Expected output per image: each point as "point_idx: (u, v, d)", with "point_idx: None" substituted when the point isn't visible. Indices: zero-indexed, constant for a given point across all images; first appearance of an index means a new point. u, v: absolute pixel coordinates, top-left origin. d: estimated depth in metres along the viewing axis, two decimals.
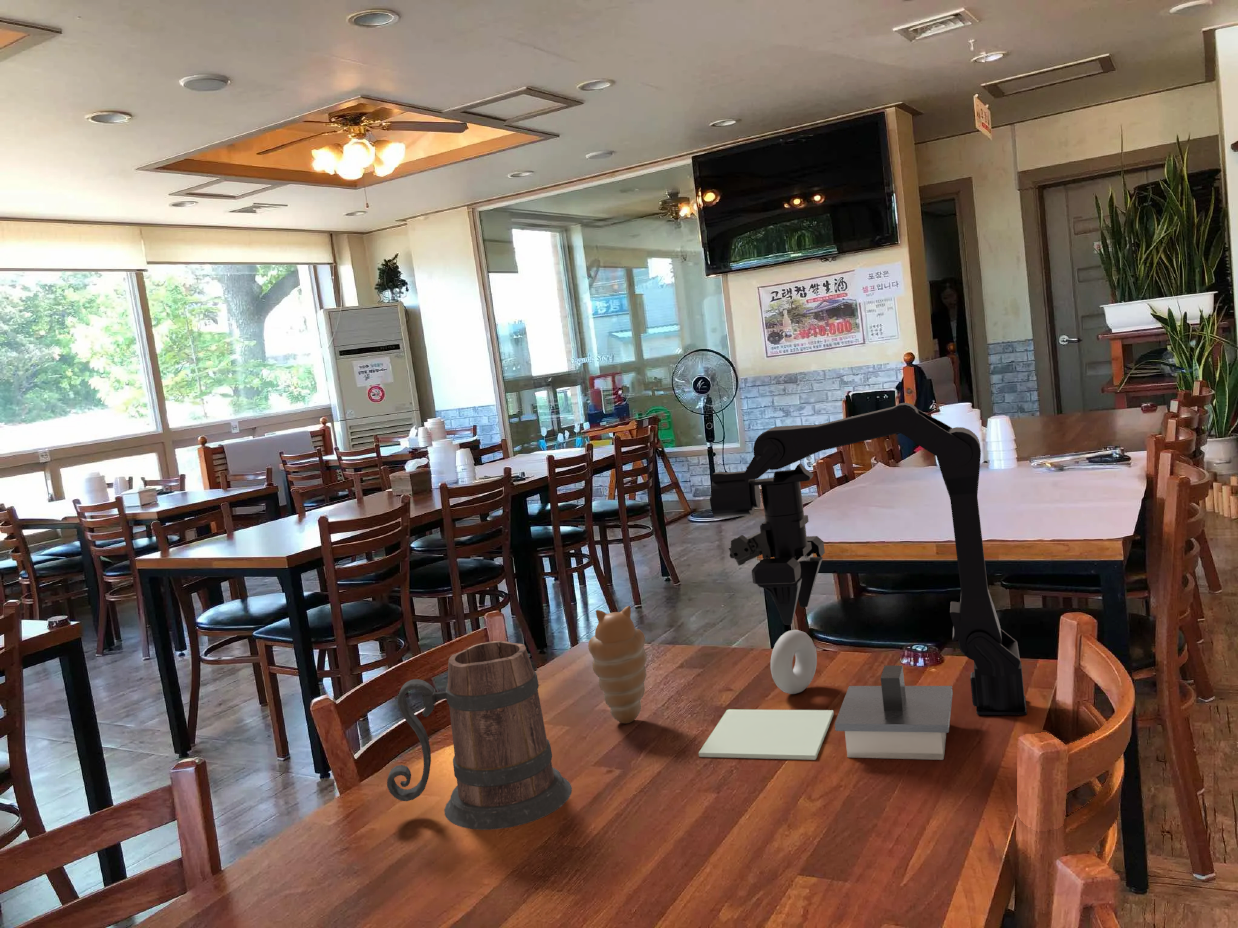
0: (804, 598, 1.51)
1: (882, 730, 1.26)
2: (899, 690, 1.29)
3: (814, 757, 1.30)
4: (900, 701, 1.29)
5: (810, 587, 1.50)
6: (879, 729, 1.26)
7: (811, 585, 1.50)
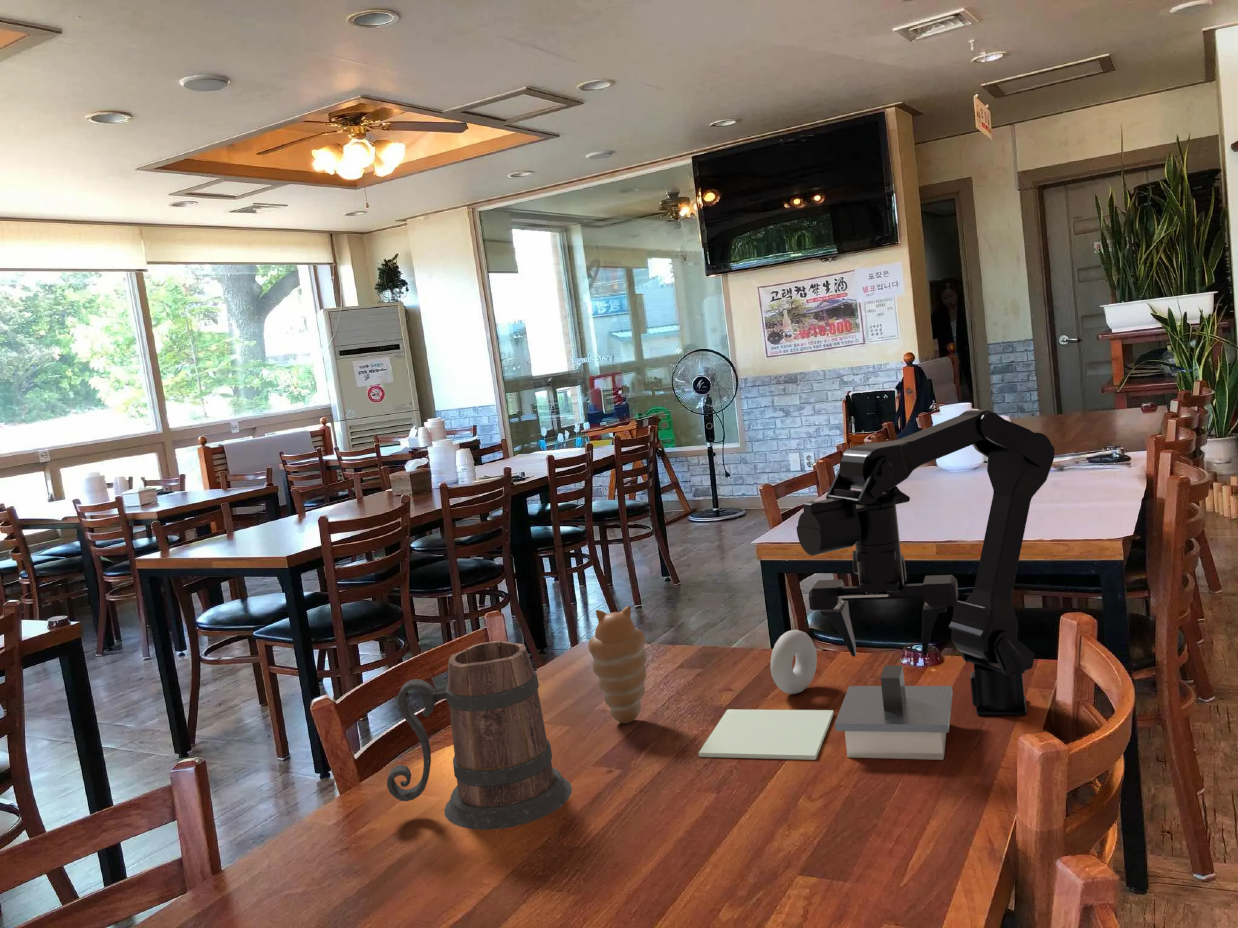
0: None
1: (882, 730, 1.26)
2: (899, 690, 1.29)
3: (814, 757, 1.30)
4: (900, 701, 1.29)
5: (922, 635, 1.29)
6: (879, 729, 1.26)
7: (922, 633, 1.28)
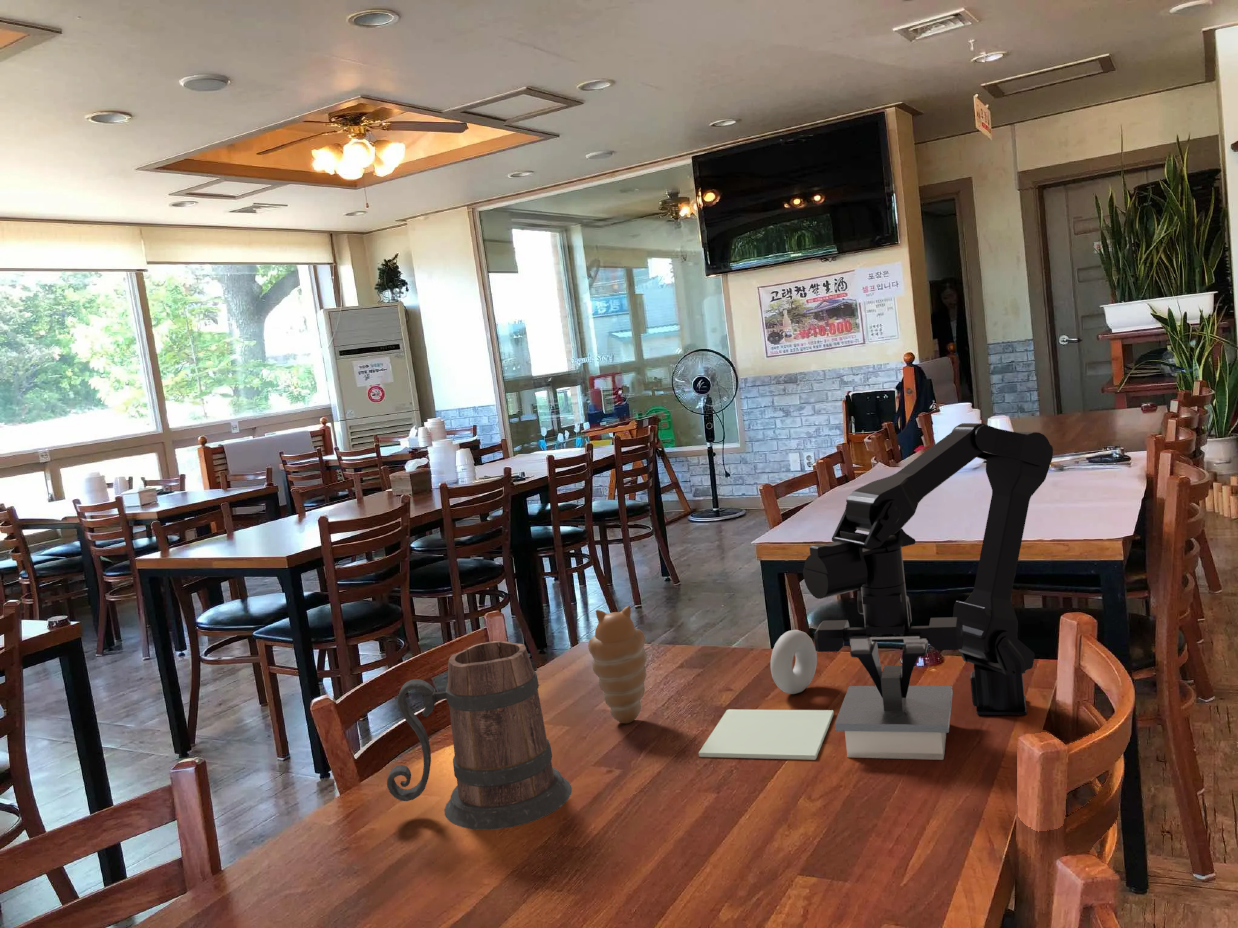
0: None
1: (882, 730, 1.26)
2: (899, 690, 1.29)
3: (814, 757, 1.30)
4: (900, 701, 1.29)
5: None
6: (879, 729, 1.26)
7: (902, 676, 1.30)
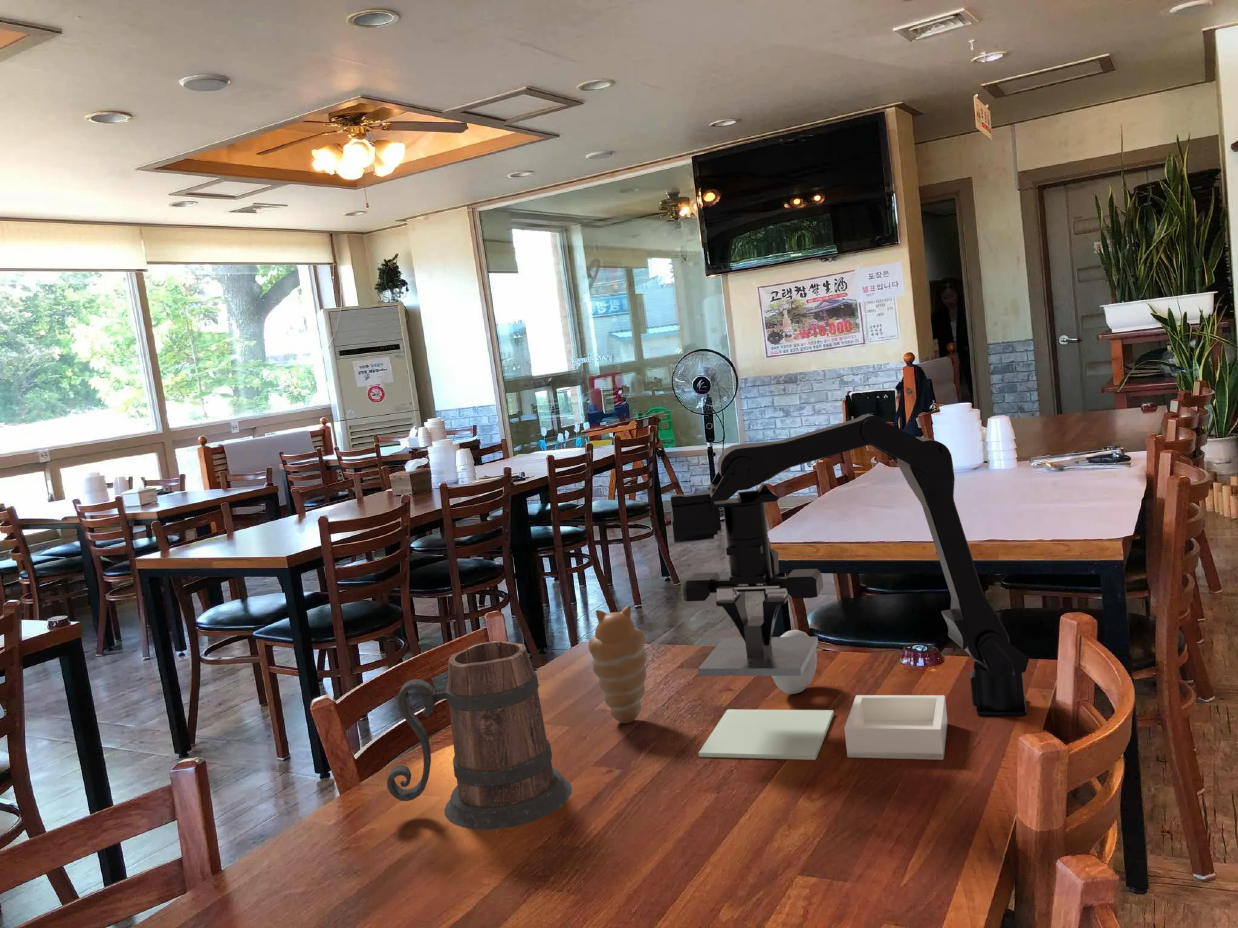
0: None
1: (741, 674, 1.33)
2: (760, 638, 1.36)
3: (814, 757, 1.30)
4: (761, 648, 1.36)
5: (764, 626, 1.37)
6: (738, 673, 1.33)
7: (764, 624, 1.37)
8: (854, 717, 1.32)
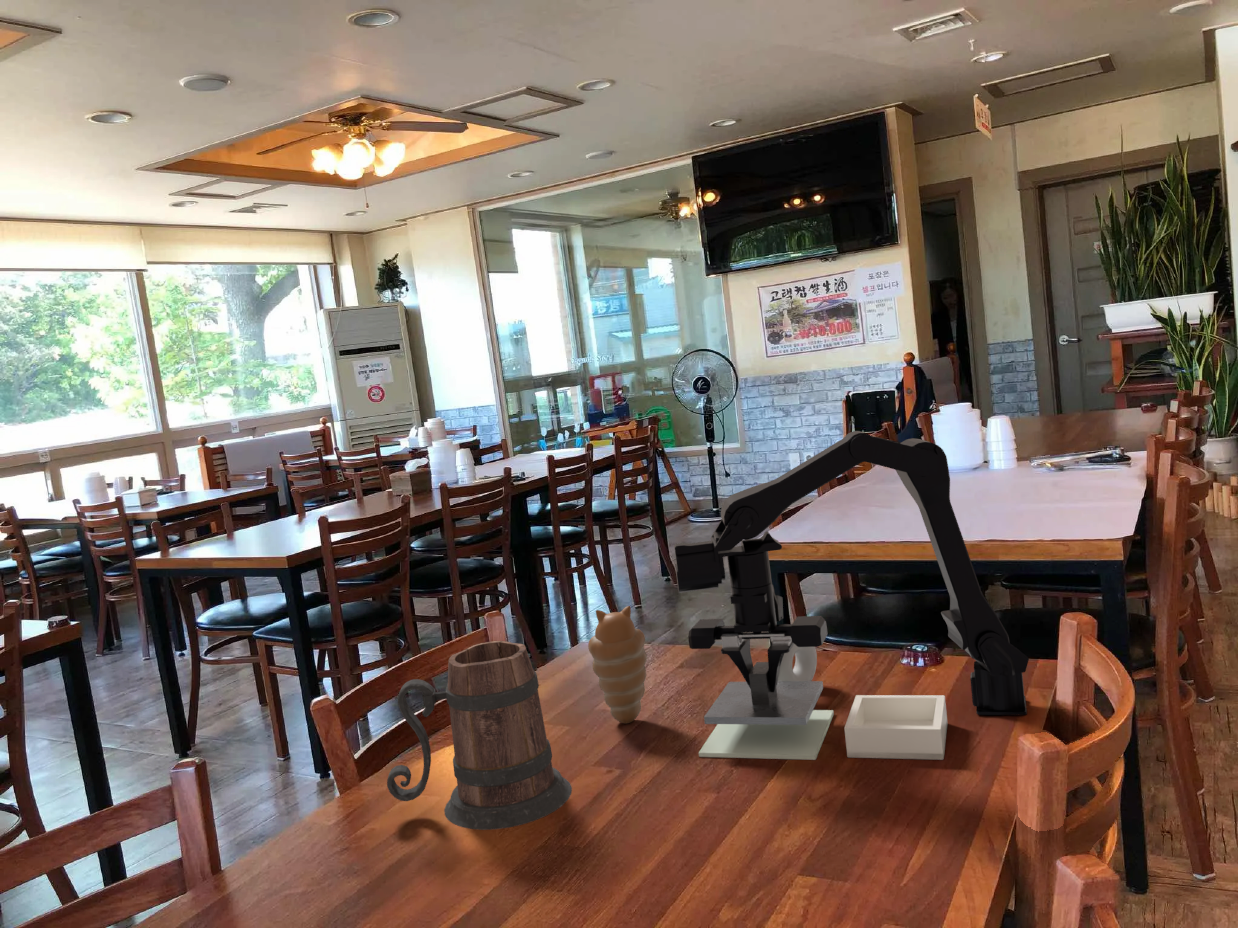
0: None
1: (747, 723, 1.34)
2: (766, 685, 1.37)
3: (814, 757, 1.30)
4: (767, 695, 1.37)
5: (769, 673, 1.38)
6: (744, 722, 1.34)
7: (769, 672, 1.37)
8: (854, 717, 1.32)
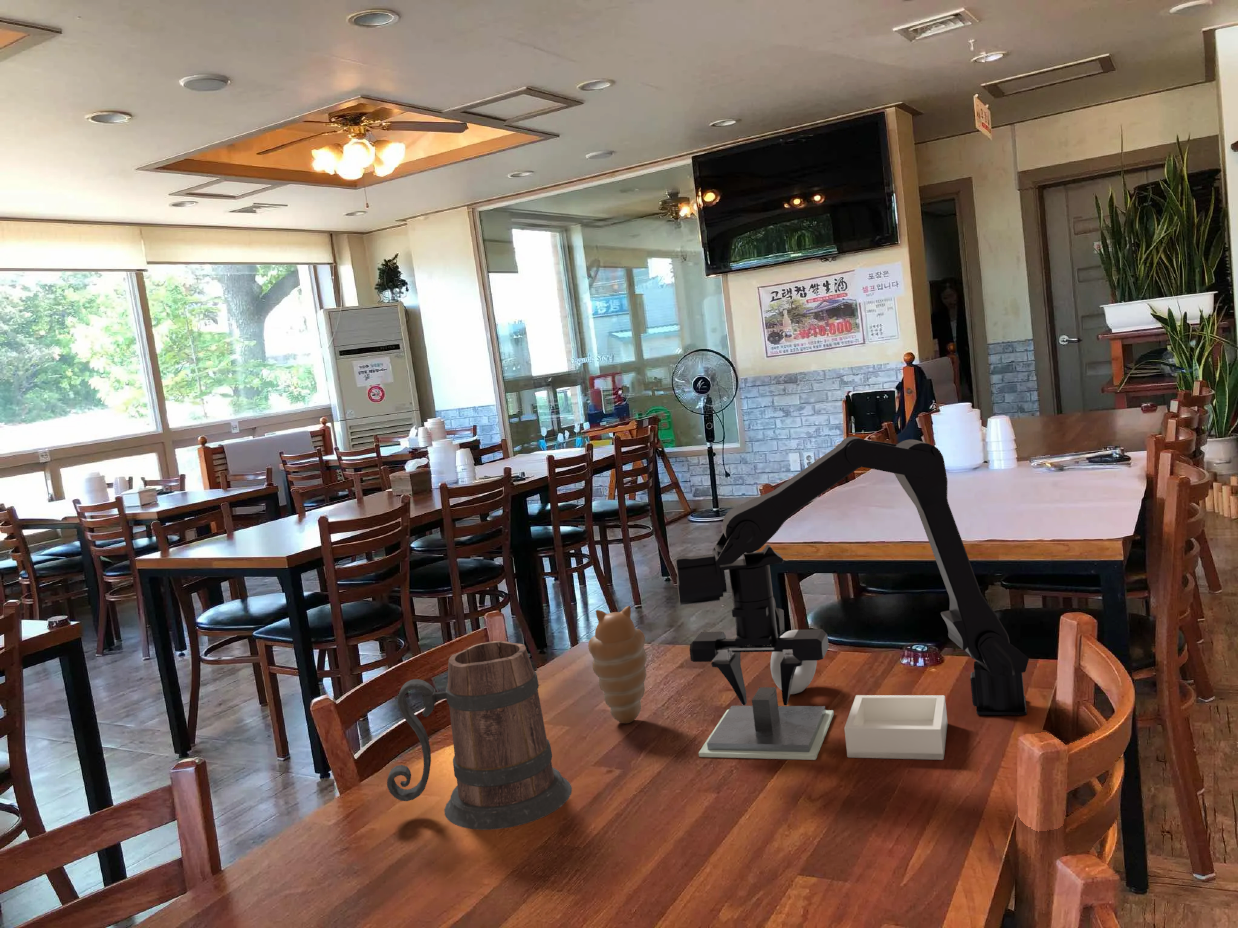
0: None
1: (750, 749, 1.34)
2: (769, 711, 1.37)
3: (814, 757, 1.30)
4: (770, 722, 1.37)
5: (781, 686, 1.37)
6: (747, 748, 1.34)
7: (781, 685, 1.37)
8: (854, 717, 1.32)
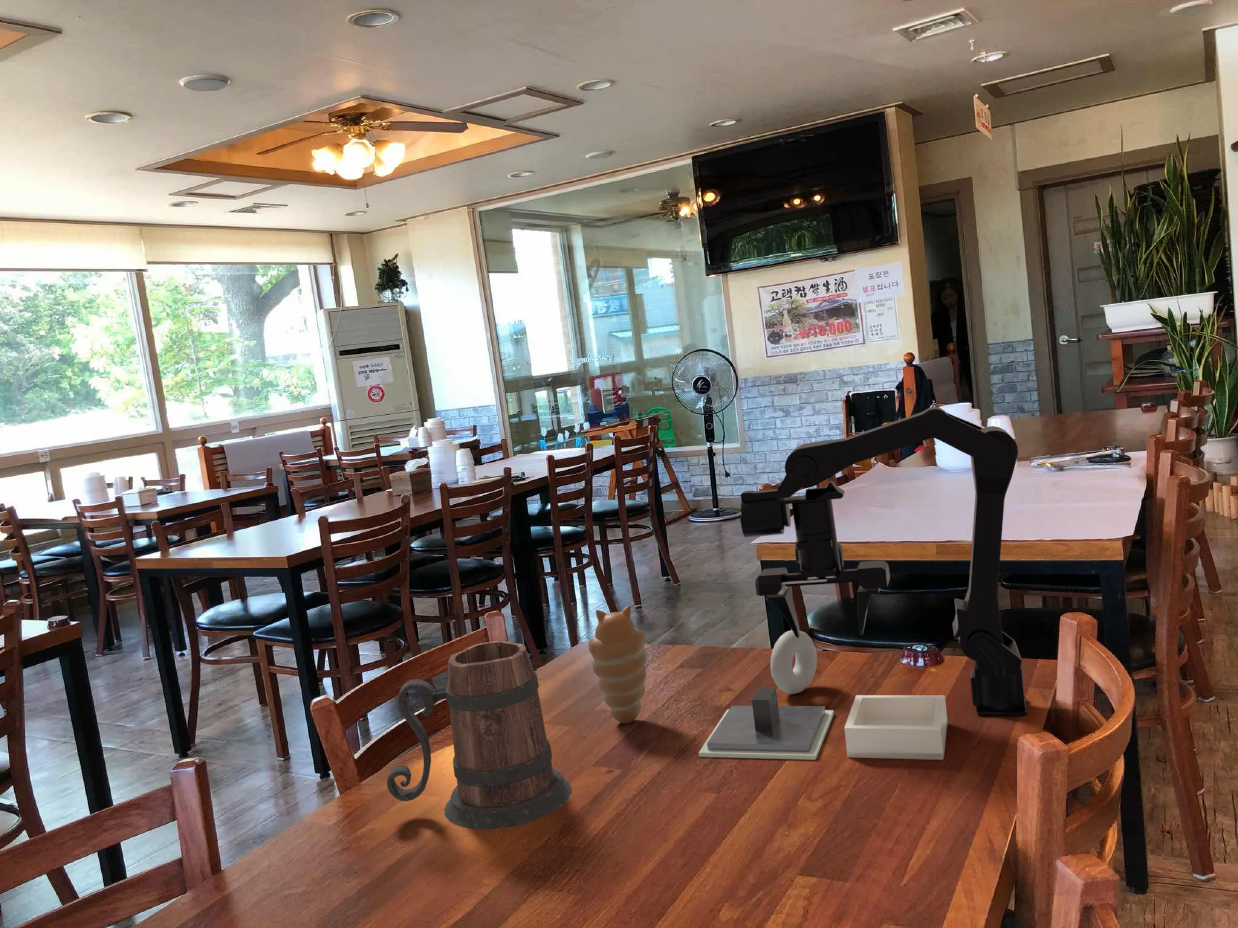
0: None
1: (750, 749, 1.34)
2: (769, 711, 1.37)
3: (814, 757, 1.30)
4: (770, 722, 1.37)
5: (858, 616, 1.42)
6: (747, 748, 1.34)
7: (858, 614, 1.41)
8: (854, 717, 1.32)
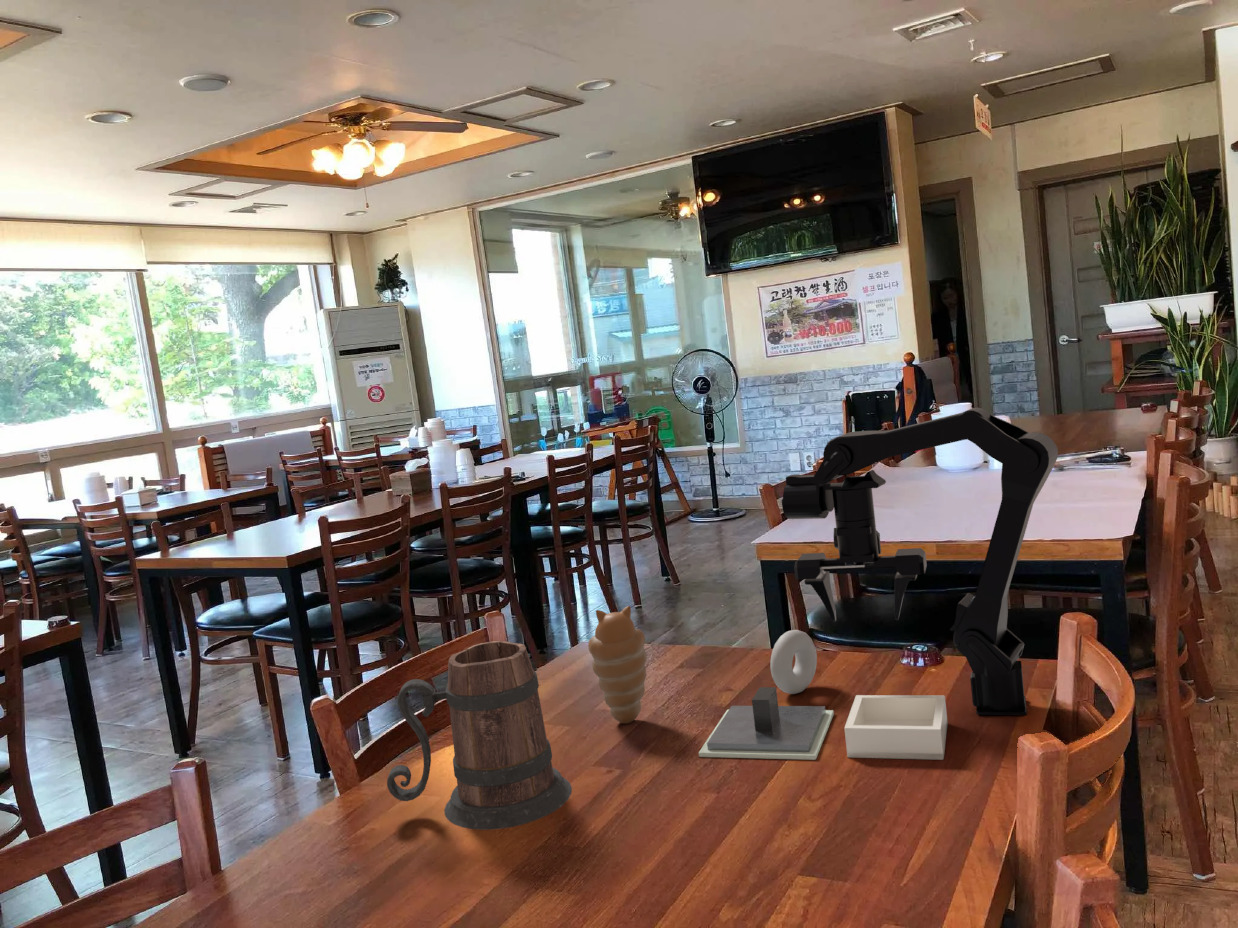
0: None
1: (750, 749, 1.34)
2: (769, 711, 1.37)
3: (814, 757, 1.30)
4: (770, 722, 1.37)
5: (894, 601, 1.45)
6: (747, 748, 1.34)
7: None
8: (854, 717, 1.32)
